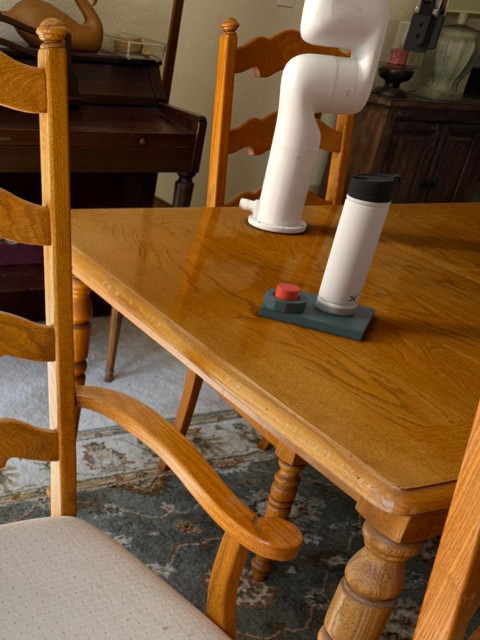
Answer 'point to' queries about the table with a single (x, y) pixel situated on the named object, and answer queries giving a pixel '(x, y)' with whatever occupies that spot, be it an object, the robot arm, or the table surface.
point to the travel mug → (355, 242)
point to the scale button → (287, 291)
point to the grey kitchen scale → (316, 315)
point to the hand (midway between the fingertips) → (419, 50)
